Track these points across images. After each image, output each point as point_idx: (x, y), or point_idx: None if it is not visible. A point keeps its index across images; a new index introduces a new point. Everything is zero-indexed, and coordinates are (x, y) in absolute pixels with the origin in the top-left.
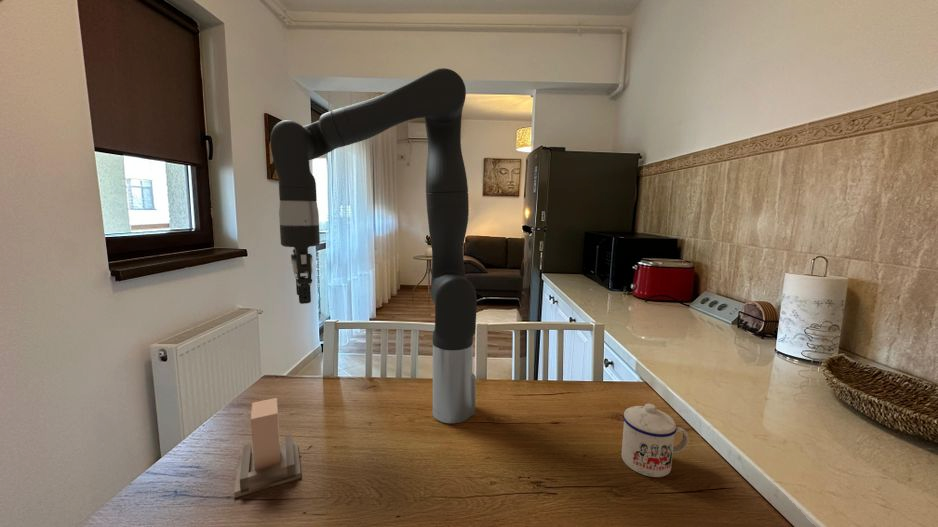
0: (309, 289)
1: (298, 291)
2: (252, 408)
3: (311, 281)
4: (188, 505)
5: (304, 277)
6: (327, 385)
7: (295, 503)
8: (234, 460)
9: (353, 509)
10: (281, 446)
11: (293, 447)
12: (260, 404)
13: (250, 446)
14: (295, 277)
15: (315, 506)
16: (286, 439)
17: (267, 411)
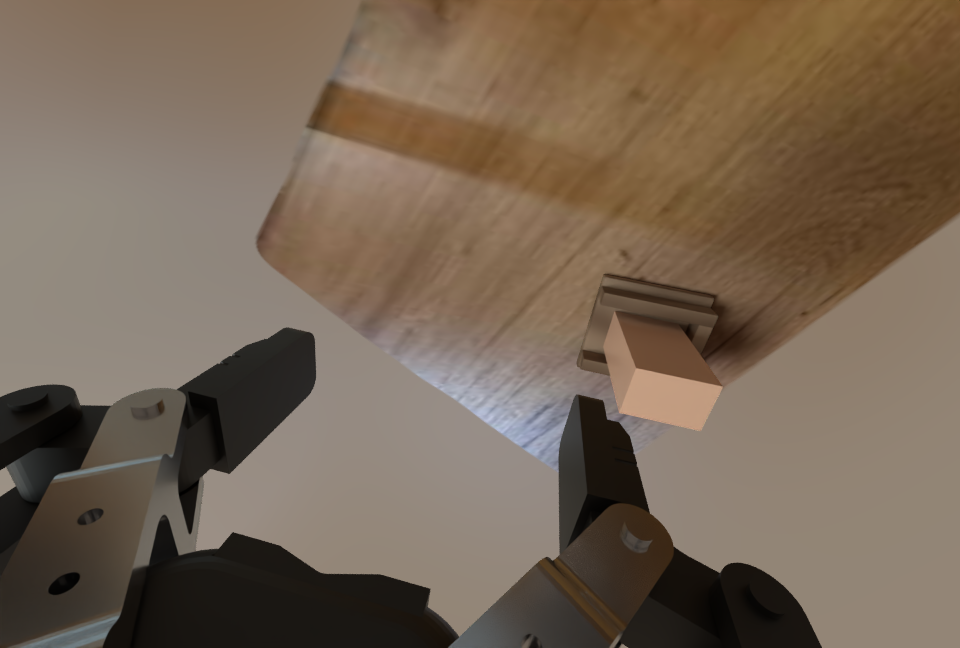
0: (615, 476)
1: (298, 394)
2: (650, 418)
3: (798, 605)
4: (636, 426)
5: (200, 419)
6: (363, 132)
7: (768, 319)
8: (567, 366)
9: (882, 246)
10: (599, 305)
11: (619, 288)
12: (642, 402)
13: (593, 361)
14: (202, 482)
15: (807, 296)
16: (619, 306)
17: (693, 399)
